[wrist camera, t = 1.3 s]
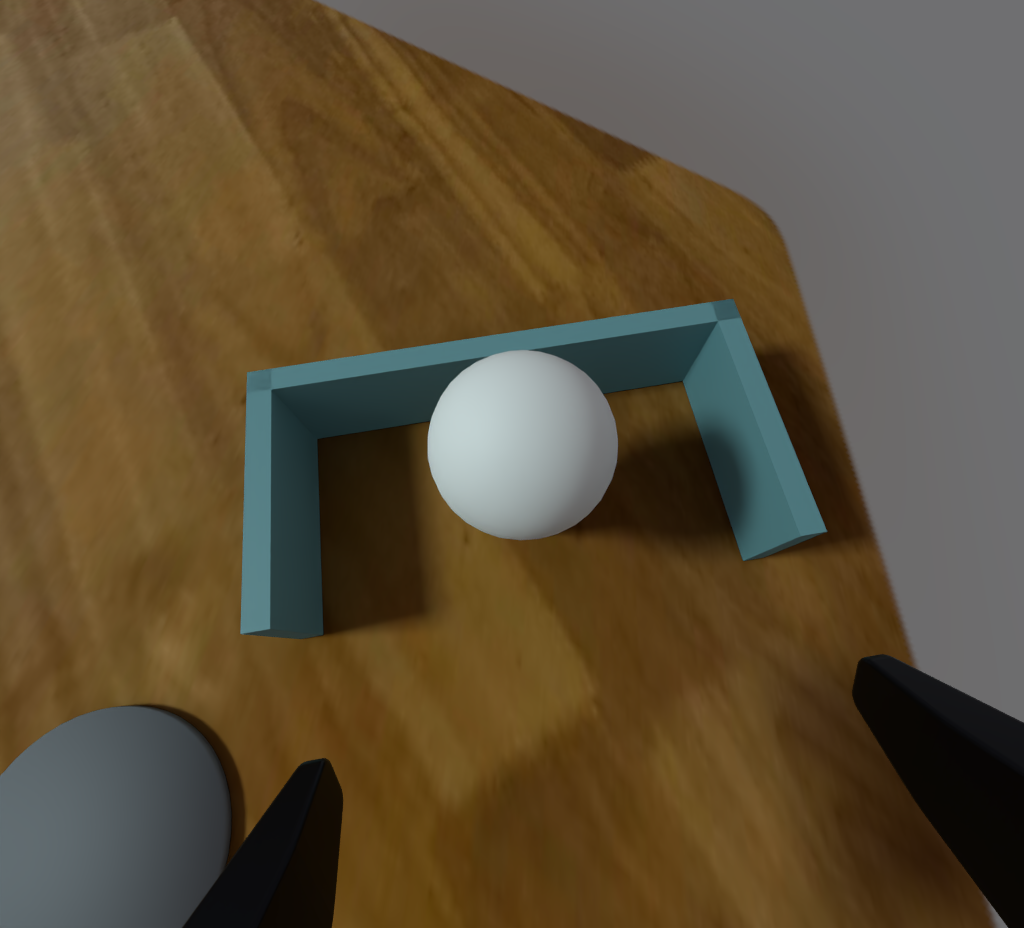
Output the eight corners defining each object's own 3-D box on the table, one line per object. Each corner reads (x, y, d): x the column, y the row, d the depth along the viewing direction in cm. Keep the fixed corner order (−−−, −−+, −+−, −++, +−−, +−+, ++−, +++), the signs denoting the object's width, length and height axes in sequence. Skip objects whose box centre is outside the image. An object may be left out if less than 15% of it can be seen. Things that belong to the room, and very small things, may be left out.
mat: (276, 884, 19) (270, 890, 18) (6, 1103, 17) (-9, 1116, 16) (170, 654, 22) (163, 654, 21) (-69, 817, 20) (-83, 820, 19)
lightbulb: (523, 428, 25) (526, 273, 15) (613, 514, 24) (684, 404, 13) (431, 509, 24) (363, 397, 14) (519, 605, 22) (518, 562, 12)
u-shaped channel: (764, 557, 23) (827, 531, 18) (300, 638, 22) (240, 634, 17) (695, 361, 27) (733, 298, 22) (297, 424, 26) (247, 372, 21)
